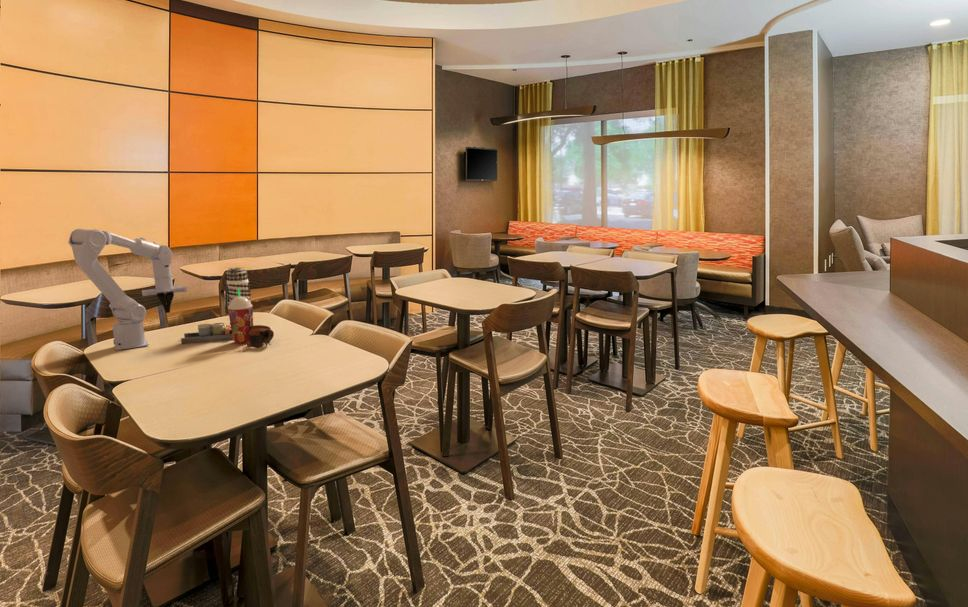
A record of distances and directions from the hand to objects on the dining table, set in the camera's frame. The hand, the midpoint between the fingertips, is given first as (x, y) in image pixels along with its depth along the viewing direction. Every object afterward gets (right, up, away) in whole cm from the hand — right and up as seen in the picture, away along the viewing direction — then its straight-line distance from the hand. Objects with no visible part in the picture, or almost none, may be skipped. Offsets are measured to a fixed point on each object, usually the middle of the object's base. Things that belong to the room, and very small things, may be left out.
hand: (167, 312), depth 204 cm
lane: (+18, -10, -4) cm, 21 cm away
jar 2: (+21, -10, -3) cm, 23 cm away
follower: (+24, -10, -1) cm, 26 cm away
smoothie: (+33, -11, -8) cm, 35 cm away
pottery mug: (+40, -12, -10) cm, 43 cm away
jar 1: (+17, -10, -4) cm, 20 cm away
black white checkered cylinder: (+24, -8, +11) cm, 27 cm away
